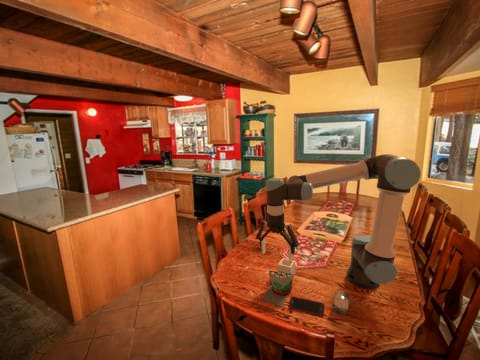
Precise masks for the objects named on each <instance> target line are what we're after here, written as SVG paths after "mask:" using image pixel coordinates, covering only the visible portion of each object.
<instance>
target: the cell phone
mask: <svg viewBox="0 0 480 360" xmlns="http://www.w3.org/2000/svg"><path fill="white" fill-rule="evenodd" d="M288 309H289V310H292V311H295V312H296V311H297V312H300V313H304V314H308V315H312V316H313V315H314V316H318V317H322V318H323V317H324V315H325V304H324V302H320V301H315V300H311V299H306V298H301V297H296V296H291V297H290V300H289V305H288Z"/></svg>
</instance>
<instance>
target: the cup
mask: <svg viewBox="0 0 480 360" xmlns="http://www.w3.org/2000/svg"><path fill="white" fill-rule="evenodd" d="M277 272H284V273H288V274H294V277H295V276H296V260H293V259H292V261H289V258H285V257H282V259H280V261H279V262H278V263H277Z"/></svg>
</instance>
